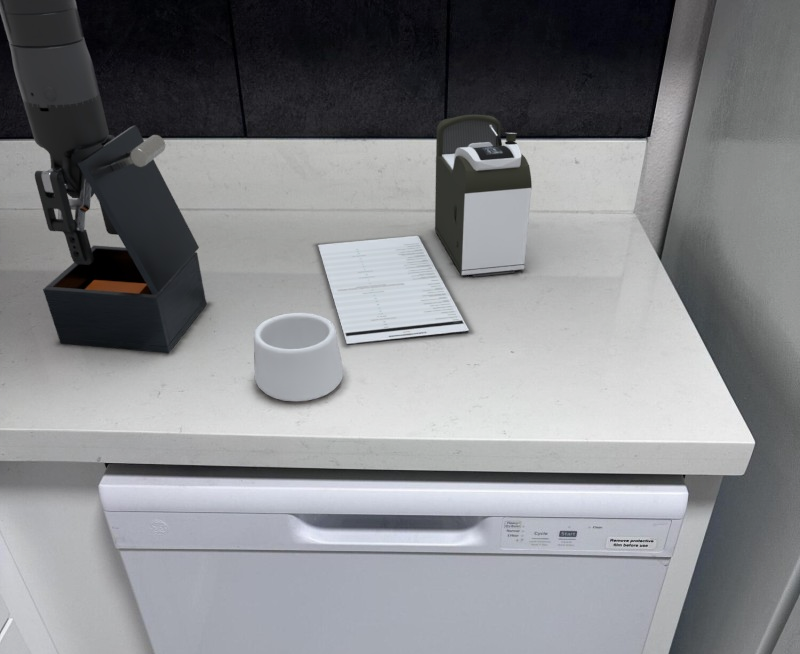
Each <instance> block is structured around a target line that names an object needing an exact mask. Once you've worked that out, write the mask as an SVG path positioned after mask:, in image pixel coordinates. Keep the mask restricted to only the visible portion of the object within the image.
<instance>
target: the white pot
mask: <svg viewBox="0 0 800 654" xmlns="http://www.w3.org/2000/svg"><path fill="white" fill-rule="evenodd" d="M253 354H254V355H253V357H254V358H253V362H254V363H253V364H254V365H253V370H254V379H255V383H256V384H257V387H258V388H259V389H260V390H261V391H262V392H263V393H265V395H267V396H268V397H271V398H274V399H276V400H280V401H287V402H306V401H311V400H316V399H319V398H322V397H324V396H327V395H328V394H330V393H332V392H333V391H334V390H335V389H336V388H337V387H338V386H339V385H340V383H341V382H342V379H343V377H344V368H343V359H342V355H341V349H340V345H339V340H338V334H337V329H336V326H335V325H334V323H333V322H332V321H330V320H329V319H328V318H326V317H324V316H320V315H318V314H315V313H308V312H289V313H283V314H279V315H275V316H273V317H270V318H268V319H266V320H264V321H263V322H261V323H260V324H259V325H258V326H257V327H256V328H255V330H254V332H253Z"/></svg>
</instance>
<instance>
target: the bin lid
mask: <svg viewBox="0 0 800 654" xmlns="http://www.w3.org/2000/svg"><path fill="white" fill-rule="evenodd" d="M165 150H166V142H165V140H164V138H162V136H160V135H158V134H153V135H151V136H149V137H148V138H147V139H145V140H144V138H143V136H142V134H141V132H140V130H139V129H138V126H137V125H136V124H135V125H132V126H129V127H128V128H127V129H125V130H124V131H123V132H121V133H120V134H118V135H116V136H115V138H114V139H112V140H111V141H109V142H108V143H107V144H105V145H104V146H102V147H101V148H99V149H98V150H96V151H95V152H93V153H92V154H90V155H89V156H87V157H86V158H85V159H83V160H82V161H80V162H79V163H77V164H78V166H79V167H80V169H81V171H82V173H83V174H84V176H85V178H86V180H87V181H88V183H89V185H90V187H91V188H92V190H93V192H94V195H95V197H96V199H97V201H98V203H99V202H100V203H99V205H100V204H101V206H102V208H103V209H104V211H105V213H106V214H107V216H108V218H109V220H110V221H111V223H112V225H113V227H114V228H115V230H116V232H117V234H118V235H117V236H118V237H119V239H120V241H121V243H122V245H123V246H124V248H126V249H127V251H128V253H129V254H130V256H131V258H132V260H133V261H134V263H135V265H136V267H137V268H138V270H139V272H140V274H141V275H142V277H143V279H144V281H145V282H146V284H147V286H148V288H149V289H150V291H151V293H152V294H153V295H154V294H158V293H159V292H160V291H161V290H162V289H163V288H164V286H165V285H166V284H167V283H168V282H169V281H170V280H171V279H172V277H173V276H174V275H175V274H176V273H177V272H178V271H179V270H180V269H181V267H182V266H183V265H184V264H185V263H186V262H187V261H188V260H189V259H190V257H191V256H192V255H193V254H194V253H195V252H196V253H197V251H198V250H199V249H200V246H199V245H198V243H197V241H196V239H195V237H194V235H193V233H192V230H191V229H190V227H189V226H188V225H189V224H187V221H186V219H185V218H184V216H183V213H182V212H181V210H180V208H179V206H178V204H177V202H176V200H175V198H174V196H173V194H172V192H171V190H170V189H169V186H168V185H167V183H166V181H165V179H164V176H163V175H162V172H161V171H160V169H159V167H158V165H157V163H156V161H155V160H154V159H156V158H157V157H159V156H160V155H161V154H162V153H164V151H165Z"/></svg>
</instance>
